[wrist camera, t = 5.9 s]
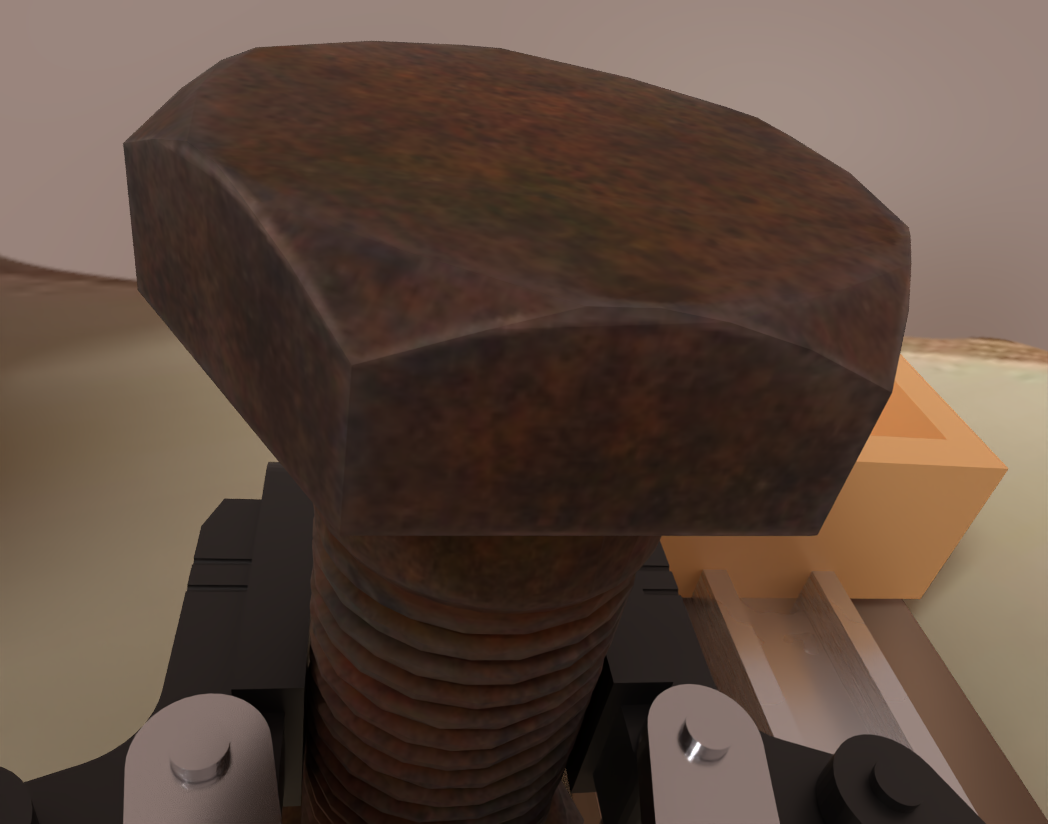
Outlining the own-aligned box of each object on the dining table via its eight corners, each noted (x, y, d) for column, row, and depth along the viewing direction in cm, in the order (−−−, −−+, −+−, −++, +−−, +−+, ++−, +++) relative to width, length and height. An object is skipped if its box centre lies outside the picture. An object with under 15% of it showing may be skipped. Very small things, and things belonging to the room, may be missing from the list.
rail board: (630, 1091, 14) (653, 1060, 13) (494, 398, 30) (500, 364, 29) (1114, 1026, 16) (1162, 996, 15) (746, 413, 32) (759, 382, 31)
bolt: (451, 1274, 12) (953, 489, 3) (153, 1103, 13) (-107, 127, 4) (569, 882, 16) (898, 136, 8) (345, 779, 17) (417, 7, 9)
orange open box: (573, 596, 19) (619, 450, 17) (514, 356, 28) (538, 234, 25) (920, 598, 21) (1008, 469, 19) (768, 375, 30) (815, 263, 27)
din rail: (837, 1038, 14) (883, 995, 13) (588, 370, 29) (600, 327, 28) (1015, 1014, 14) (1071, 973, 13) (679, 376, 30) (694, 335, 29)
